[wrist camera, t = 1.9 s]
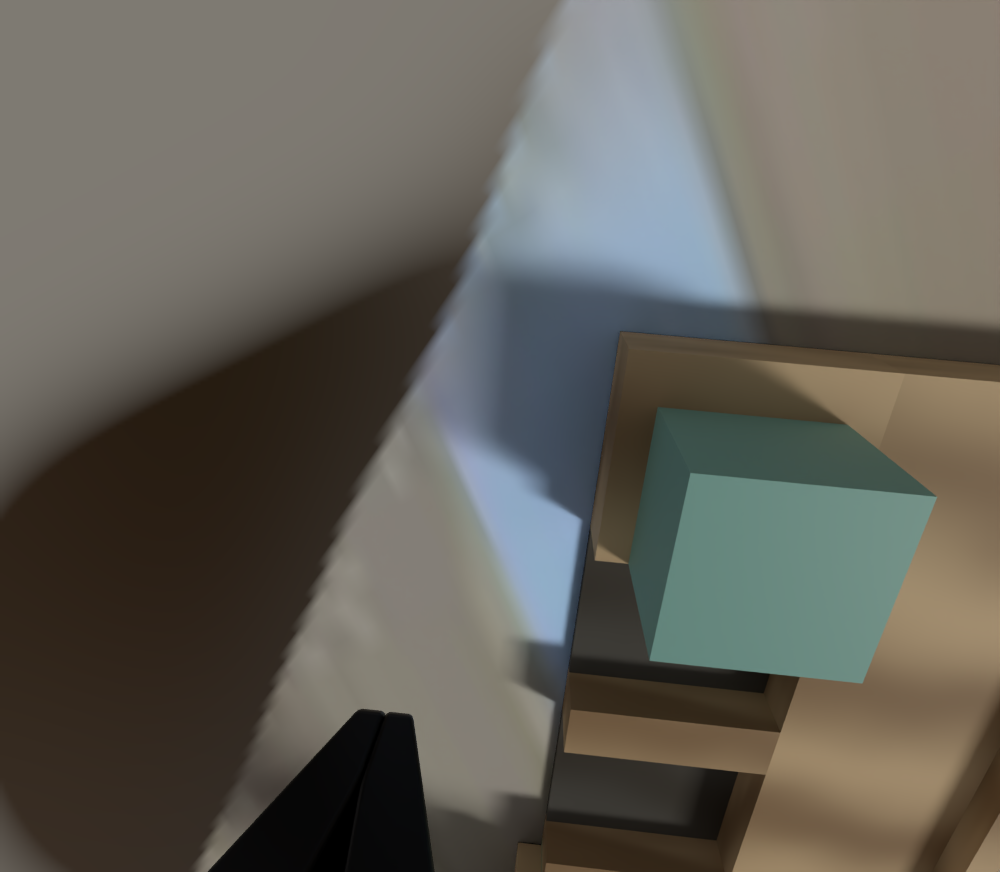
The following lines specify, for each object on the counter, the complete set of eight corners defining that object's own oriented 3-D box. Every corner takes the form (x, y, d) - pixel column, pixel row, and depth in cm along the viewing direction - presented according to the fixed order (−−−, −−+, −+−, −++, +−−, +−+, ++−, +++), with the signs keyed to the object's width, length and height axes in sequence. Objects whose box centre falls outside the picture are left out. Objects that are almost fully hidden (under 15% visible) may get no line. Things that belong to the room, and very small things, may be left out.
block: (797, 581, 18) (862, 684, 14) (628, 563, 18) (649, 660, 15) (847, 424, 16) (937, 496, 12) (657, 406, 16) (690, 472, 13)
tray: (856, 962, 28) (902, 1081, 24) (507, 920, 29) (502, 1030, 25) (1157, 379, 17) (1326, 433, 13) (585, 327, 18) (596, 366, 14)
